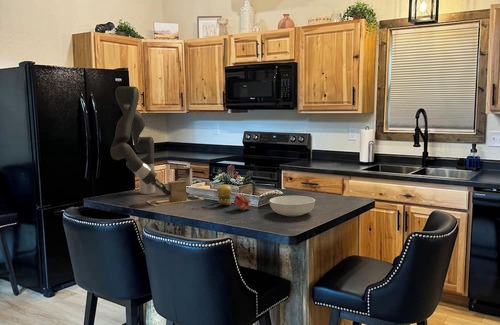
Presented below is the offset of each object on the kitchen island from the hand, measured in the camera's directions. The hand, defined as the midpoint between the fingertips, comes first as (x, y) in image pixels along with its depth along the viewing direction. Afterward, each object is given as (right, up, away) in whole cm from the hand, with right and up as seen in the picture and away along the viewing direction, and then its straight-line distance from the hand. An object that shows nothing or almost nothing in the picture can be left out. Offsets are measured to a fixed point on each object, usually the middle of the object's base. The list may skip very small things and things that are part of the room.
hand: (168, 194), depth 234 cm
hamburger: (+29, -6, -5) cm, 30 cm away
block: (+4, -3, +3) cm, 6 cm away
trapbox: (+3, -5, +2) cm, 6 cm away
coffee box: (+4, -3, +24) cm, 25 cm away
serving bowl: (+61, -8, -25) cm, 67 cm away
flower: (+39, -7, -15) cm, 42 cm away
